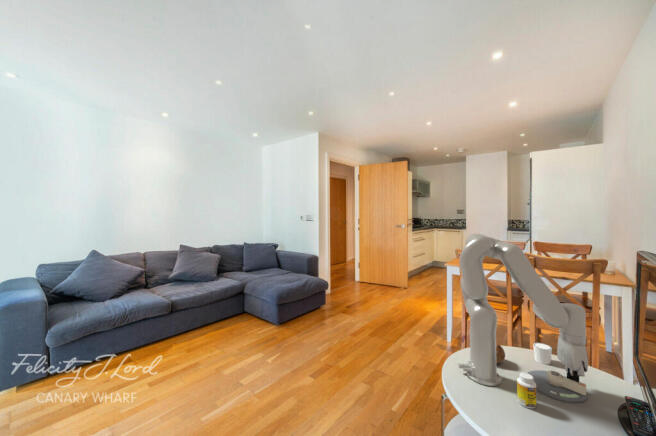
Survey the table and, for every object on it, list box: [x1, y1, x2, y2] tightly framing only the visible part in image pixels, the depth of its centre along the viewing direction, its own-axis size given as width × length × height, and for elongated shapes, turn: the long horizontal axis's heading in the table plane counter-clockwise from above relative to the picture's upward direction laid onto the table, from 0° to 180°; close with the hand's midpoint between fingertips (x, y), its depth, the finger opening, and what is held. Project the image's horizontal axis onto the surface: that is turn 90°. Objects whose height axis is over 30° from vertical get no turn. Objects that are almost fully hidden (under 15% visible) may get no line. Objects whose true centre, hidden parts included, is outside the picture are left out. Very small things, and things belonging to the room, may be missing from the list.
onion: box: [496, 342, 506, 364], centre depth 122 cm, size 10×9×10 cm
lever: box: [547, 370, 587, 395], centre depth 101 cm, size 11×5×4 cm, turn 34°
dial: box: [527, 369, 588, 404], centre depth 103 cm, size 18×18×2 cm
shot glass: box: [532, 342, 553, 365], centre depth 121 cm, size 7×7×7 cm
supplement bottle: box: [516, 372, 537, 409], centre depth 95 cm, size 6×6×10 cm
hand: (573, 384), depth 101 cm, fingers closed
